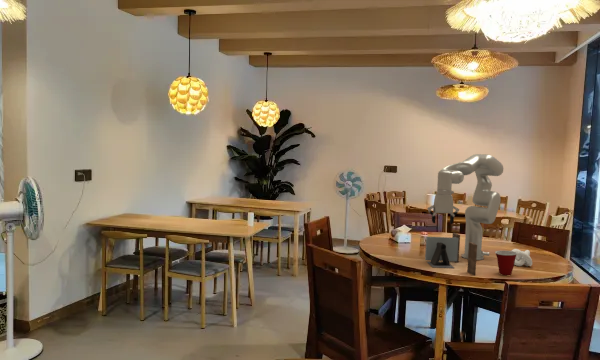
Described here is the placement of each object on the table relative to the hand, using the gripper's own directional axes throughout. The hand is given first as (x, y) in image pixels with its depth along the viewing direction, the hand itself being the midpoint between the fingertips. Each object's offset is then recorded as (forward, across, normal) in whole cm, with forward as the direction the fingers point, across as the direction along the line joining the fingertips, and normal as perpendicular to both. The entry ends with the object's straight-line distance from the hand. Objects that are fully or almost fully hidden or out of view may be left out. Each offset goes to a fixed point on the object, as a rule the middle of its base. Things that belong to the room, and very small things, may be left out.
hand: (442, 223), depth 246 cm
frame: (+24, -12, +2) cm, 27 cm away
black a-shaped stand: (+24, 0, 0) cm, 24 cm away
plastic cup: (+24, -30, +14) cm, 41 cm away
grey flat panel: (+23, -2, -7) cm, 24 cm away
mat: (+24, 0, +1) cm, 24 cm away
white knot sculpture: (+24, -49, -8) cm, 55 cm away
